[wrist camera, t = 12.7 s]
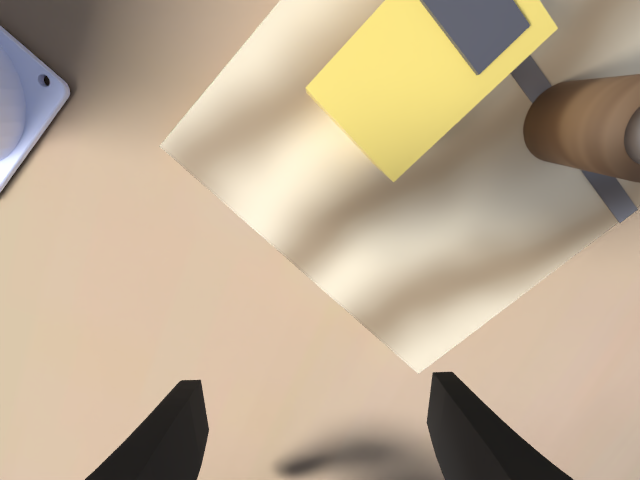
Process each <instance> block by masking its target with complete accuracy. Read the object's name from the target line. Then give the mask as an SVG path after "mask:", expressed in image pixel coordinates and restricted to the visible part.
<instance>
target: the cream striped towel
mask: <svg viewBox="0 0 640 480" xmlns="http://www.w3.org/2000/svg"><path fill="white" fill-rule="evenodd" d="M384 1H385V0H280V1H279V2H278V4H277V5H276V6H275V7H274V8H273V10H272V11H271V12H270V13H269V14H268V16H267V17H266V18H265V19H264V20H263V22H262V23H261V24H260V25H259V26H258V28H257V29H256V30H255V31H254V33H253V34H252V35H251V36H250V37H249V39H248V40H247V41H246V42H245V43H244V45H243V46H242V47H241V48H240V49H239V51H238V52H237V53H236V54H235V55H234V57H233V58H232V59H231V60H230V62H229V63H228V64H227V65H226V66H225V68H224V69H223V70H222V71H221V72H220V74H219V75H218V76H217V77H216V78H215V80H214V81H213V82H212V83H211V84H210V86H209V87H208V88H207V89H206V91H205V92H204V93H203V94H202V95H201V97H200V98H199V99H198V100H197V101H196V103H195V104H194V105H193V106H192V107H191V109H190V110H189V111H188V112H187V113H186V115H185V116H184V117H183V118H182V119H181V121H180V122H179V123H178V124H177V126H176V127H175V128H174V129H173V130H172V132H171V133H170V134H169V135H168V136H167V138H166V139H165V140H164V141H163V142H162V144H161V145H160V147H161V148H162V149H163V150H164V151H165V152H166V153H168V154H169V155H170V156H171V157H172V158H173V159H174V160H175V161H177V162H178V163H179V164H180V165H181V166H182V167H183V168H185V169H186V170H187V171H188V172H189V173H190V174H191V175H193V176H194V177H195V178H196V179H197V180H198V181H199V182H201V183H202V184H203V185H204V186H205V187H206V188H207V189H208V190H210V191H211V192H212V193H213V194H214V195H215V196H216V197H218V198H219V199H220V200H221V201H222V202H223V203H224V204H226V205H227V206H228V207H229V208H230V209H231V210H232V211H234V212H235V213H236V214H237V215H238V216H239V217H240V218H241V219H243V220H244V221H245V222H246V223H247V224H248V225H249V226H251V227H252V228H253V229H254V230H255V231H256V232H257V233H259V234H260V235H261V236H262V237H263V238H264V239H265V240H266V241H268V242H269V243H270V244H271V245H272V246H273V247H274V248H276V249H277V250H278V251H279V252H280V253H281V254H282V255H284V256H285V257H286V258H287V259H288V260H289V261H290V262H292V263H293V264H294V265H295V266H296V267H297V268H298V269H299V270H301V271H302V272H303V273H304V274H305V275H306V276H307V277H309V278H310V279H311V280H312V281H313V282H314V283H315V284H317V285H318V286H319V287H320V288H321V289H322V290H323V291H324V292H326V293H327V294H328V295H329V296H330V297H331V298H332V299H334V300H335V301H336V302H337V303H338V304H339V305H340V306H342V307H343V308H344V309H345V310H346V311H347V312H348V313H350V314H351V315H352V316H353V317H354V318H355V319H356V320H357V321H359V322H360V323H361V324H362V325H363V326H364V327H365V328H367V329H368V330H369V331H370V332H371V333H372V334H373V335H375V336H376V337H377V338H378V339H379V340H380V341H381V342H382V343H384V344H385V345H386V346H387V347H388V348H389V349H390V350H392V351H393V352H394V353H395V354H396V355H397V356H398V357H400V358H401V359H402V360H403V361H404V362H405V363H406V364H408V365H409V366H410V367H411V368H412V369H413V370H414V371H415V372H417V373H418V374H419V373H420V372H422V371H423V370H424V369H426V368H427V367H428V366H430V365H431V364H432V363H433V362H435V361H436V360H437V359H439V358H440V357H441V356H443V355H444V354H445V353H447V352H448V351H449V350H451V349H452V348H453V347H455V346H456V345H457V344H459V343H460V342H461V341H463V340H464V339H465V338H466V337H468V336H469V335H470V334H472V333H473V332H474V331H476V330H477V329H478V328H480V327H481V326H482V325H484V324H485V323H486V322H488V321H489V320H490V319H492V318H493V317H494V316H496V315H497V314H498V313H499V312H501V311H502V310H503V309H505V308H506V307H507V306H509V305H510V304H511V303H513V302H514V301H515V300H517V299H518V298H519V297H521V296H522V295H523V294H525V293H526V292H527V291H529V290H530V289H531V288H532V287H534V286H535V285H536V284H538V283H539V282H540V281H542V280H543V279H544V278H546V277H547V276H548V275H550V274H551V273H552V272H554V271H555V270H556V269H558V268H559V267H560V266H561V265H563V264H564V263H565V262H567V261H568V260H569V259H571V258H572V257H573V256H575V255H576V254H577V253H579V252H580V251H581V250H583V249H584V248H585V247H587V246H588V245H589V244H591V243H592V242H593V241H594V240H596V239H597V238H598V237H600V236H601V235H602V234H604V233H605V232H606V231H608V230H609V229H610V228H612V227H613V226H614V225H616V224H617V223H618V222H619V223H621V222H622V221H623V220H625V219H626V218H627V217H629V216H630V215H631V214H632V213H634V212H635V211H636V210H638V209H637V208H638V207H639V206H640V183H638V182H632V181H628V180H624V179H619V178H615V177H611V176H606V175H602V174H598V173H593V172H589V171H585V170H580V169H576V168H572V167H567V166H563V165H559V164H554V163H550V162H546V161H542V160H540V159H538V158H536V157H535V156H534V155H533V154H532V153H531V152H530V151H529V150H528V148H527V146H526V144H525V141H524V135H523V127H524V121H525V118H526V115H527V112H528V110H529V108H530V107H531V105H532V104H533V102H534V101H535V100H536V99H537V97H538V96H539V95H540V94H541V93H543V92H544V91H545V90H547V89H548V88H550V87H551V86H553V85H556V84H558V83H561V82H566V81H575V80H585V79H595V78H605V77H615V76H625V75H635V74H640V0H540V1H541V3H542V4H543V6H544V8H545V9H546V11H547V12H548V14H549V15H550V17H551V18H552V20H553V21H554V23H555V24H556V26H557V27H558V29H557V30H556V31H555V32H554V33H553V34H552V35H551V36H550V37H548V38H547V39H546V40H545V41H544V42H543V43H542V44H541V45H540V46H539V47H538V48H537V49H536V50H535V51H533V52H532V53H531V54H530V55H529V56H528V57H527V58H526V59H525V60H524V61H523V62H522V63H521V64H520V65H519V66H517V67H516V68H515V69H514V70H513V71H512V72H511V73H510V74H509V75H508V76H507V77H506V78H505V79H504V80H503V81H501V82H500V83H499V84H498V85H497V86H496V87H495V88H494V89H493V90H492V91H491V92H490V93H489V94H488V95H486V96H485V97H484V98H483V99H482V100H481V101H480V102H479V103H478V104H477V105H476V106H475V107H474V108H473V109H472V110H470V111H469V112H468V113H467V114H466V115H465V116H464V117H463V118H462V119H461V120H460V121H459V122H458V123H457V124H456V125H454V126H453V127H452V128H451V129H450V130H449V131H448V132H447V133H446V134H445V135H444V136H443V137H442V138H441V139H439V140H438V141H437V142H436V143H435V144H434V145H433V146H432V147H431V148H430V149H429V150H428V151H427V152H426V153H425V154H423V155H422V156H421V157H420V158H419V159H418V160H417V161H416V162H415V163H414V164H413V165H412V166H411V167H410V168H409V169H407V170H406V171H405V172H404V173H403V174H402V175H401V176H400V177H399V178H398V179H397V180H396V181H395V182H393V181H391V180H390V179H389V178H388V177H387V176H386V175H385V174H384V173H383V172H382V171H380V170H379V169H378V168H377V167H376V166H375V165H374V164H373V163H372V162H371V161H370V160H369V159H368V158H367V157H366V156H365V155H364V154H363V152H362V151H361V150H360V149H359V148H358V147H357V146H356V145H355V144H354V143H353V142H352V141H351V140H350V139H349V138H348V136H347V135H346V134H345V133H344V132H343V131H342V130H341V129H340V128H339V127H338V126H337V125H336V124H335V123H334V122H333V120H332V119H331V118H330V117H329V116H328V115H327V114H326V113H325V112H324V111H323V110H322V109H321V108H320V107H319V106H318V104H317V103H316V102H315V101H314V100H313V99H312V98H311V97H310V96H309V95H308V94H307V93H306V89H305V88H306V87H307V85H308V84H309V83H310V82H311V81H312V80H313V79H314V78H315V77H316V76H317V74H318V73H319V72H320V71H321V70H322V69H323V68H324V67H325V66H326V65H327V63H328V62H329V61H330V60H331V59H332V58H333V57H334V56H335V55H336V54H337V52H338V51H339V50H340V49H341V48H342V47H343V46H344V45H345V44H346V43H347V41H348V40H349V39H350V38H351V37H352V36H353V35H354V34H355V33H356V32H357V30H358V29H359V28H360V27H361V26H362V25H363V24H364V23H365V22H366V21H367V19H368V18H369V17H370V16H371V15H372V14H373V13H374V12H375V11H376V10H377V8H378V7H379V6H380V5H381V4H382V3H383V2H384Z"/></svg>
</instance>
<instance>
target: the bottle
mask: <svg viewBox="0 0 640 480" xmlns="http://www.w3.org/2000/svg"><path fill="white" fill-rule="evenodd" d="M523 135H524V141H525V144H526V146H527V148H528V150H529V151H530V152H531V153H532V154H533V155H534V156H535V157H536V158H538V159H540V160H542V161H546V162H550V163H554V164H559V165H563V166H567V167H572V168H576V169H580V170H585V171H589V172H593V173H598V174H602V175H606V176H611V177H615V178H619V179H624V180H628V181H632V182H638V183H640V74H635V75H625V76H615V77H605V78H595V79H585V80H575V81H566V82H561V83H558V84H556V85H553V86H551V87H550V88H548V89H547V90H545V91H544V92H543V93H541V94H540V95H539V96H538V97H537V99H536V100H535V101H534V102H533V104H532V105H531V107H530V108H529V110H528V112H527V115H526V118H525V121H524V127H523Z"/></svg>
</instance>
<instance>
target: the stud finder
mask: <svg viewBox="0 0 640 480" xmlns="http://www.w3.org/2000/svg"><path fill="white" fill-rule="evenodd" d="M557 29H558V27H557V26H556V24H555V23H554V21H553V20H552V18H551V17H550V15H549V14H548V12H547V11H546V9H545V8H544V6H543V4H542V3H541V1H540V0H385V1H384V2H383V3H382V4H381V5H380V6H379V7H378V8H377V10H376V11H375V12H374V13H373V14H372V15H371V16H370V17H369V18H368V19H367V21H366V22H365V23H364V24H363V25H362V26H361V27H360V28H359V29H358V30H357V32H356V33H355V34H354V35H353V36H352V37H351V38H350V39H349V40H348V41H347V43H346V44H345V45H344V46H343V47H342V48H341V49H340V50H339V51H338V52H337V54H336V55H335V56H334V57H333V58H332V59H331V60H330V61H329V62H328V63H327V65H326V66H325V67H324V68H323V69H322V70H321V71H320V72H319V73H318V74H317V76H316V77H315V78H314V79H313V80H312V81H311V82H310V83H309V84H308V85H307V87H306V88H305V89H306V93H307V94H308V95H309V96H310V97H311V98H312V99H313V100H314V101H315V102H316V103H317V104H318V106H319V107H320V108H321V109H322V110H323V111H324V112H325V113H326V114H327V115H328V116H329V117H330V118H331V119H332V120H333V122H334V123H335V124H336V125H337V126H338V127H339V128H340V129H341V130H342V131H343V132H344V133H345V134H346V135H347V136H348V138H349V139H350V140H351V141H352V142H353V143H354V144H355V145H356V146H357V147H358V148H359V149H360V150H361V151H362V152H363V154H364V155H365V156H366V157H367V158H368V159H369V160H370V161H371V162H372V163H373V164H374V165H375V166H376V167H377V168H378V169H379V170H380V171H382V172H383V173H384V174H385V175H386V176H387V177H388V178H389V179H390V180H391V181H393V182H395V181H396V180H397V179H398V178H399V177H400V176H401V175H402V174H403V173H404V172H405V171H406V170H407V169H409V168H410V167H411V166H412V165H413V164H414V163H415V162H416V161H417V160H418V159H419V158H420V157H421V156H422V155H423V154H425V153H426V152H427V151H428V150H429V149H430V148H431V147H432V146H433V145H434V144H435V143H436V142H437V141H438V140H439V139H441V138H442V137H443V136H444V135H445V134H446V133H447V132H448V131H449V130H450V129H451V128H452V127H453V126H454V125H456V124H457V123H458V122H459V121H460V120H461V119H462V118H463V117H464V116H465V115H466V114H467V113H468V112H469V111H470V110H472V109H473V108H474V107H475V106H476V105H477V104H478V103H479V102H480V101H481V100H482V99H483V98H484V97H485V96H486V95H488V94H489V93H490V92H491V91H492V90H493V89H494V88H495V87H496V86H497V85H498V84H499V83H500V82H501V81H503V80H504V79H505V78H506V77H507V76H508V75H509V74H510V73H511V72H512V71H513V70H514V69H515V68H516V67H517V66H519V65H520V64H521V63H522V62H523V61H524V60H525V59H526V58H527V57H528V56H529V55H530V54H531V53H532V52H533V51H535V50H536V49H537V48H538V47H539V46H540V45H541V44H542V43H543V42H544V41H545V40H546V39H547V38H548V37H550V36H551V35H552V34H553V33H554V32H555V31H556V30H557Z"/></svg>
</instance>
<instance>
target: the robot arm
mask: <svg viewBox="0 0 640 480" xmlns="http://www.w3.org/2000/svg"><path fill="white" fill-rule="evenodd" d="M45 76H47V77H48V78H49V80H50V84H49V86H47V85H46V84H45V83H44V77H45ZM69 95H70V89H69V86H68V84H67V83H66V82H65V81H64V80H63V79H62V78H60V77H59V76H58V75H57V74H56V73H55V72H54V71H52V70H51V69H50V68H49V67H48V66H47V65H45V64H44V63H43V62H42V61H41V60H40V59H38V58H37V57H36V56H35V55H34V54H33V53H32V52H30V51H29V50H28V49H27V48H26V47H25V46H23V45H22V44H21V43H20V42H19V41H18V40H16V39H15V38H14V37H13V36H12V35H11V34H10V33H8V32H7V31H6V30H5V29H4V28H3V27H1V26H0V192H1V191H2V190H3V188H4V187H5V185H6V184H7V183H8V181H9V180H10V178H11V177H12V176H13V174H14V173H15V172H16V170H17V169H18V167H19V166H20V165H21V163H22V162H23V160H24V159H25V158H26V156H27V155H28V153H29V152H30V151H31V149H32V148H33V146H34V145H35V144H36V142H37V141H38V139H39V138H40V137H41V135H42V134H43V133H44V131H45V130H46V128H47V127H48V126H49V124H50V123H51V121H52V120H53V119H54V117H55V116H56V114H57V113H58V112H59V110H60V109H61V107H62V106H63V105H64V103H65V102H66V100H67V99H68V98H69ZM427 425H428V429H429V432H430V436H431V440H432V444H433V447H434V451H435V454H436V457H437V460H438V463H439V465H440V468H441V470H442V473H443V475H444V478H445V480H573V479H572V478H571V477H569V476H568V475H567V474H565V473H564V472H563V471H561V470H560V469H559V468H558V467H556V466H555V465H554V464H552V463H551V462H550V461H549V460H547V459H546V458H545V457H544V456H543V455H541V454H540V453H539V452H538V451H537V450H535V449H534V448H533V447H532V446H531V445H530V444H528V443H527V442H526V441H525V440H524V439H522V438H521V437H520V436H519V435H518V434H517V433H516V432H514V431H513V430H512V429H511V428H510V427H509V426H508V425H507V424H506V423H505V422H504V421H502V420H501V419H500V418H499V417H498V416H497V415H496V414H495V413H494V412H493V411H492V410H491V409H490V408H489V407H488V406H487V405H485V404H484V403H483V402H482V401H481V400H480V399H479V398H478V397H477V396H476V395H475V394H474V393H473V392H472V391H471V390H470V389H469V388H468V387H467V386H466V385H465V384H464V383H463V382H462V381H461V380H460V379H459V378H458V377H457V376H456V375H455V374H454V373H453V372H433V375H432V384H431V392H430V400H429V409H428V417H427ZM208 432H209V427H208V421H207V415H206V409H205V403H204V397H203V391H202V385H201V380H182V381H180V382H179V383H178V384H177V385H176V386H175V387H174V388H173V389H172V390H171V392H170V393H169V394H168V395H167V396H166V397H165V398H164V399H163V400H162V402H161V403H160V404H159V405H158V406H157V407H156V408H155V409H154V410H153V411H152V413H151V414H150V415H149V416H148V417H147V418H146V419H145V420H144V421H143V422H142V423H141V424H140V425H139V427H138V428H137V429H136V430H135V431H134V432H133V433H132V434H131V435H130V436H129V437H128V438H127V439H126V440H125V441H124V442H123V443H122V444H121V445H120V446H119V447H118V448H117V449H116V450H115V451H114V452H113V453H112V454H111V455H110V456H109V457H108V458H107V459H106V460H105V461H104V462H103V463H102V464H101V465H100V466H99V467H98V468H97V469H96V470H95V471H94V472H93V473H91V474H90V475H89V476H88V477H87V478H86V479H85V480H197V477H198V474H199V471H200V468H201V464H202V460H203V456H204V451H205V447H206V442H207V437H208Z"/></svg>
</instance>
